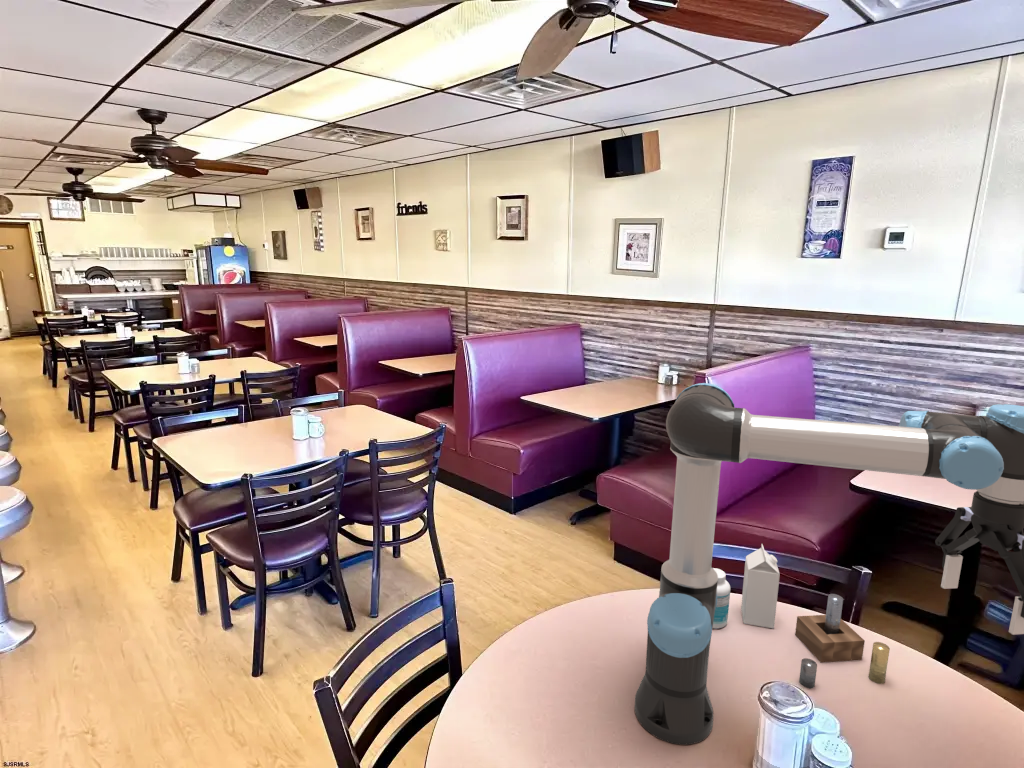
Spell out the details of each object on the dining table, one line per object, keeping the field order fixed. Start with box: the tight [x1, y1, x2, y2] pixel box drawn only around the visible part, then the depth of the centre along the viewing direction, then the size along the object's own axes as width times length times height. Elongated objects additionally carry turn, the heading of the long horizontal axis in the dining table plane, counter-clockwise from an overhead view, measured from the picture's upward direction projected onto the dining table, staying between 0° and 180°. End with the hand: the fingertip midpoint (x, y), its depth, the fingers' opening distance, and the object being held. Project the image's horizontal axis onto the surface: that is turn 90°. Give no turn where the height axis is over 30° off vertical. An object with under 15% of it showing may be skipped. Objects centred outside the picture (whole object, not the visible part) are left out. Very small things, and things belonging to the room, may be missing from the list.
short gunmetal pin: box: [798, 657, 818, 689], centre depth 121 cm, size 3×3×5 cm
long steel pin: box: [824, 593, 844, 634], centre depth 132 cm, size 3×3×13 cm
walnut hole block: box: [794, 614, 865, 663], centre depth 133 cm, size 10×10×5 cm
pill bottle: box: [712, 567, 731, 630], centre depth 142 cm, size 8×7×14 cm
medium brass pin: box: [868, 641, 890, 685], centre depth 123 cm, size 3×3×8 cm
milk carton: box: [740, 543, 781, 629], centre depth 143 cm, size 7×7×19 cm
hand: (981, 608), depth 100 cm, fingers open, 13 cm apart
